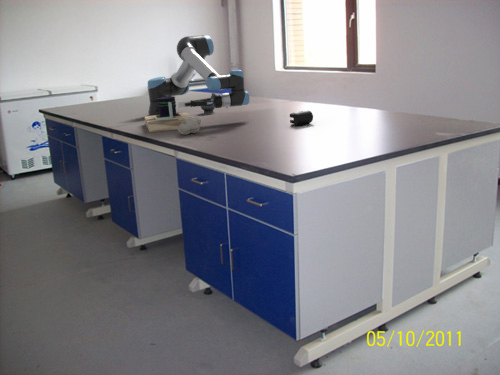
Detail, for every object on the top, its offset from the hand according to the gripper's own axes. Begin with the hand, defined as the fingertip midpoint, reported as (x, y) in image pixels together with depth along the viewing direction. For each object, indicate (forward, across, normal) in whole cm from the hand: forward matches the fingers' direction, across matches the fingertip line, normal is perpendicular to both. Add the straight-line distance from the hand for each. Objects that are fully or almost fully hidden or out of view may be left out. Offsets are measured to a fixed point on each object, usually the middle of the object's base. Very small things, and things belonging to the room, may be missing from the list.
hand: (178, 105), depth 275 cm
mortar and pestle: (-24, +43, -12) cm, 51 cm away
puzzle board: (+6, +9, -12) cm, 16 cm away
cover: (+9, 0, -7) cm, 11 cm away
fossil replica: (-1, -23, -12) cm, 26 cm away
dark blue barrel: (+5, +16, -12) cm, 21 cm away
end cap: (-57, -35, -12) cm, 68 cm away
